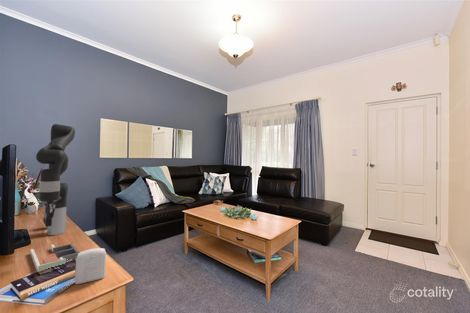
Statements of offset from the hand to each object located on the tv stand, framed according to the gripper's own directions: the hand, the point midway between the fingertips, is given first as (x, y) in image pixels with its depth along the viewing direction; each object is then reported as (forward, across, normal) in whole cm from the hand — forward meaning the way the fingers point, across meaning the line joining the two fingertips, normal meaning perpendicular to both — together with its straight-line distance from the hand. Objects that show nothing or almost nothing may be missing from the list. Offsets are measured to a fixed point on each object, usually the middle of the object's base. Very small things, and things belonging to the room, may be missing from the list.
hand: (48, 225), depth 100 cm
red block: (+17, -10, 0) cm, 20 cm away
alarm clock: (+18, +63, -11) cm, 66 cm away
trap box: (+17, +1, -4) cm, 17 cm away
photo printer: (+17, -34, -10) cm, 39 cm away
